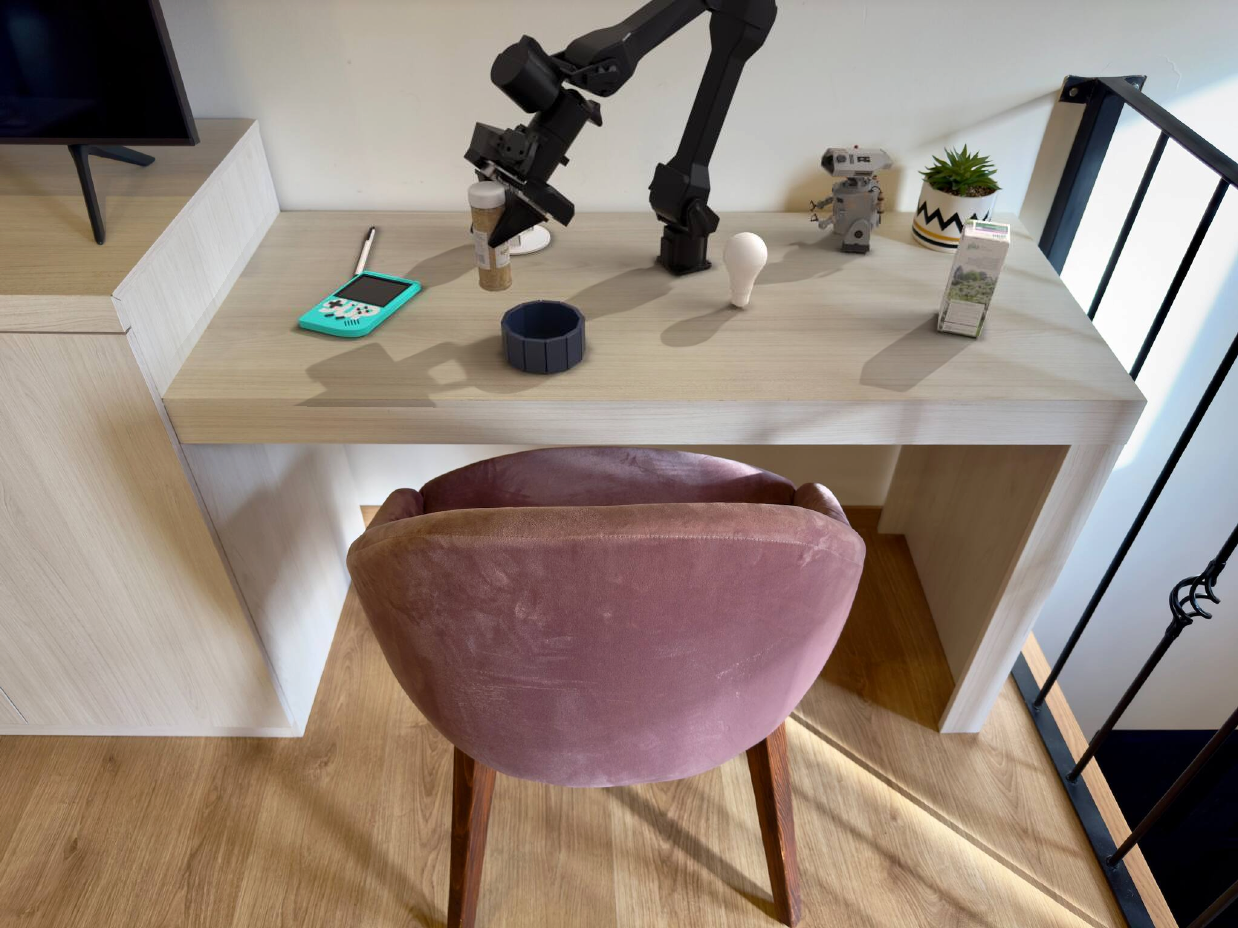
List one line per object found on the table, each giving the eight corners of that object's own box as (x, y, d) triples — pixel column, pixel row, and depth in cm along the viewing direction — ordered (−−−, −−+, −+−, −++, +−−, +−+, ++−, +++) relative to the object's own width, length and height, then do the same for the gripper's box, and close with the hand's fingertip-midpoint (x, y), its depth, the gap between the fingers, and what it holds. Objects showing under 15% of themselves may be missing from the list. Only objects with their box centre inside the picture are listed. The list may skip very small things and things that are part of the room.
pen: (376, 230, 142) (375, 223, 142) (359, 284, 128) (357, 278, 127) (371, 230, 142) (370, 223, 142) (353, 284, 128) (351, 278, 127)
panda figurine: (534, 260, 134) (528, 166, 124) (467, 251, 136) (457, 157, 127) (559, 229, 143) (556, 138, 133) (496, 220, 145) (488, 131, 135)
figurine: (802, 227, 144) (816, 137, 135) (871, 231, 143) (890, 140, 134) (805, 251, 137) (820, 158, 128) (878, 255, 136) (898, 162, 127)
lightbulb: (765, 301, 125) (775, 230, 118) (752, 320, 120) (762, 247, 113) (726, 292, 127) (733, 221, 120) (711, 311, 122) (718, 239, 115)
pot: (541, 323, 119) (540, 292, 116) (600, 348, 114) (600, 317, 111) (487, 355, 113) (484, 323, 110) (547, 383, 108) (546, 351, 105)
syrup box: (980, 319, 121) (1011, 222, 112) (979, 340, 117) (1011, 240, 108) (938, 312, 123) (965, 215, 113) (936, 332, 118) (964, 234, 109)
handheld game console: (297, 326, 118) (295, 318, 117) (364, 276, 129) (363, 268, 129) (358, 341, 115) (357, 332, 114) (422, 288, 127) (421, 280, 126)
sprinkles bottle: (516, 290, 113) (507, 191, 104) (481, 295, 112) (470, 196, 103) (508, 274, 116) (500, 177, 108) (475, 279, 115) (464, 182, 107)
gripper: (468, 77, 107) (401, 183, 109) (548, 117, 95) (471, 236, 97) (527, 128, 115) (464, 226, 117) (607, 171, 104) (535, 279, 106)
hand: (481, 240), depth 109 cm, fingers closed on sprinkles bottle, 4 cm apart
